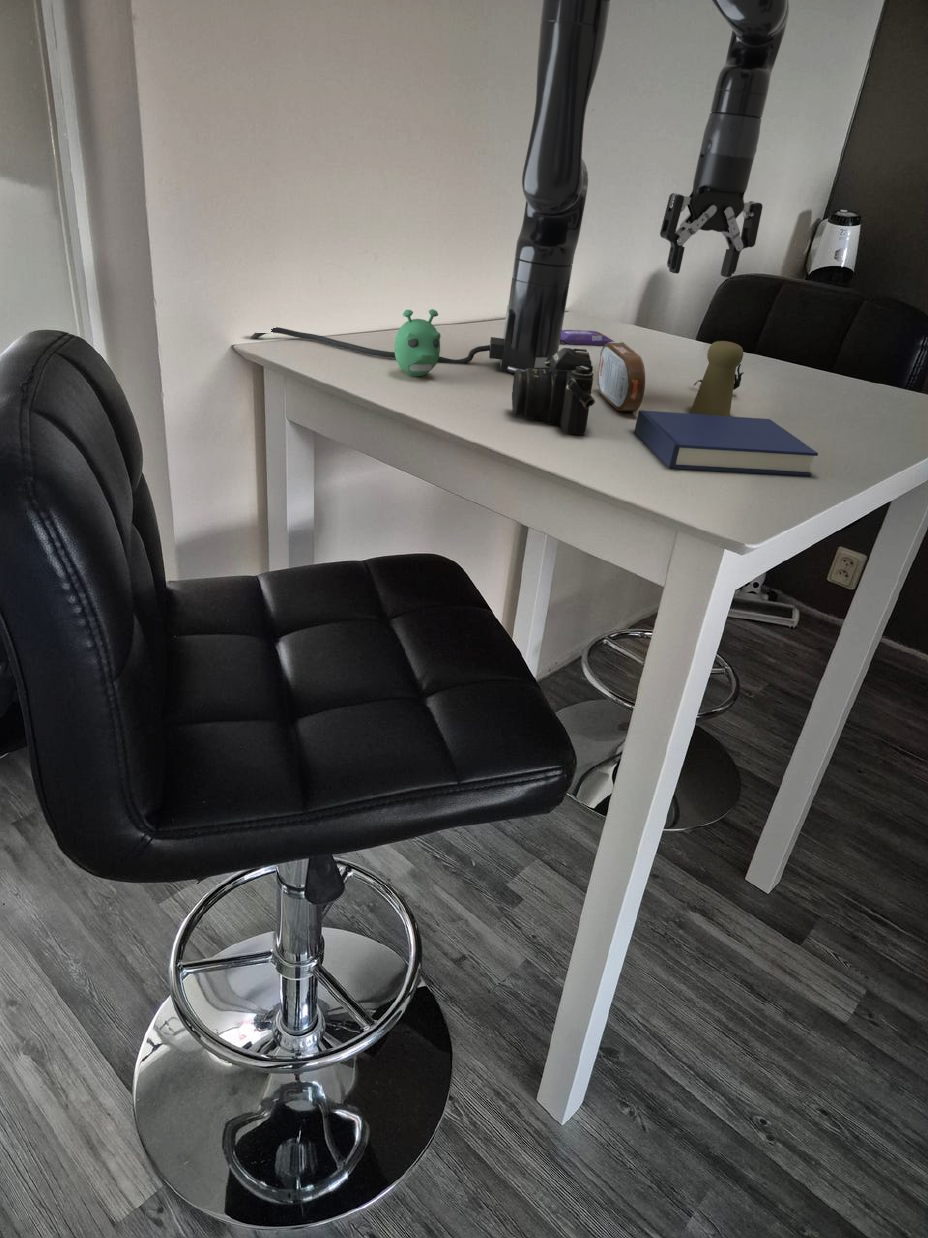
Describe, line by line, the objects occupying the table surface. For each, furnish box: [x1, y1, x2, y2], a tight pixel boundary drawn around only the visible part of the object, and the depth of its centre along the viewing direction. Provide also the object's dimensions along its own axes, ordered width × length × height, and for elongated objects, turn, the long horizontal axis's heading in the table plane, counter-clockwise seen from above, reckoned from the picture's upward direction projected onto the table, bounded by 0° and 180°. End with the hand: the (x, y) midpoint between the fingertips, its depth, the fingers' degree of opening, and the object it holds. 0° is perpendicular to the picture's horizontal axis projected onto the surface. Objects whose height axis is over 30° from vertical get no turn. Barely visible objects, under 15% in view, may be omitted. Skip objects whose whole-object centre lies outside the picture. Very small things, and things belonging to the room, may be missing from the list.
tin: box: [597, 341, 646, 413], centre depth 134 cm, size 15×3×8 cm, turn 9°
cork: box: [690, 340, 744, 416], centre depth 134 cm, size 6×6×11 cm
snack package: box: [560, 329, 615, 346], centre depth 171 cm, size 12×2×5 cm
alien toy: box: [394, 308, 442, 377], centre depth 134 cm, size 7×8×10 cm
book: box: [633, 409, 819, 477], centre depth 119 cm, size 20×14×3 cm
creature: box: [693, 363, 745, 391], centre depth 148 cm, size 8×5×8 cm
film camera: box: [511, 347, 596, 436], centre depth 123 cm, size 18×12×10 cm
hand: (699, 274), depth 131 cm, fingers open, 8 cm apart
